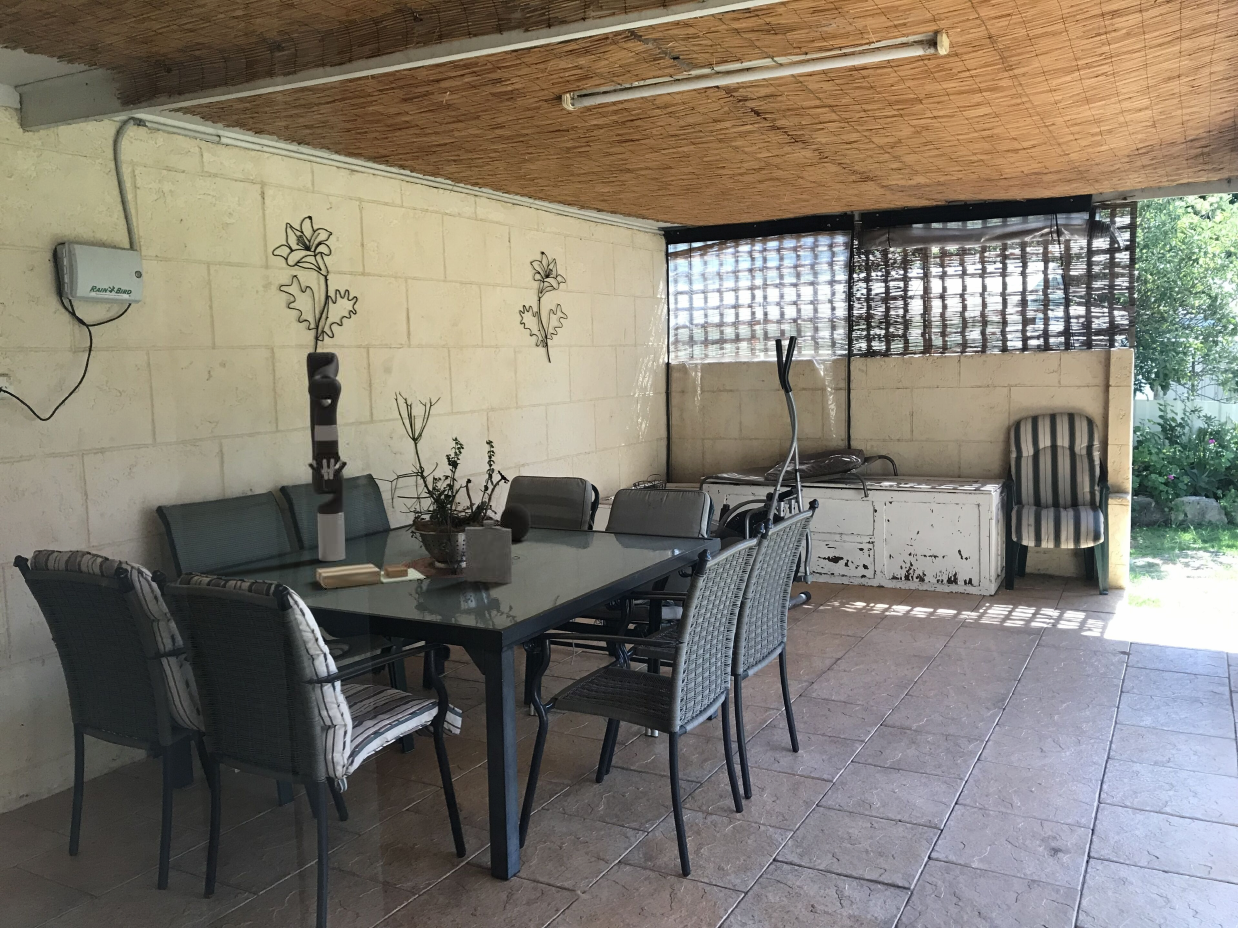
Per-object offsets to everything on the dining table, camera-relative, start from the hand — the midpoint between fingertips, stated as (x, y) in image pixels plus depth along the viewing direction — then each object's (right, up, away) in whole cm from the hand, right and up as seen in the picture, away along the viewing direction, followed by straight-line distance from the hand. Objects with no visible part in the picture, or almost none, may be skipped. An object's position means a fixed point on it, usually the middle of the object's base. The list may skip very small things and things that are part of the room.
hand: (328, 490), depth 330 cm
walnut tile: (+23, -27, 0) cm, 35 cm away
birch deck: (+9, -30, -7) cm, 32 cm away
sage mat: (+23, -29, 0) cm, 37 cm away
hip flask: (+55, -30, -7) cm, 63 cm away
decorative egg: (+56, -22, +67) cm, 90 cm away
